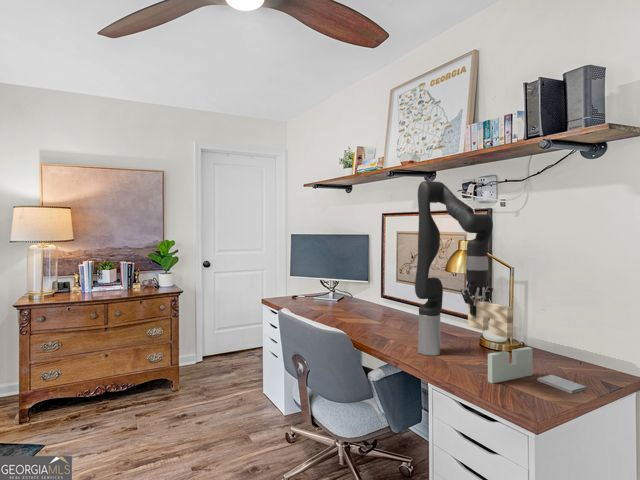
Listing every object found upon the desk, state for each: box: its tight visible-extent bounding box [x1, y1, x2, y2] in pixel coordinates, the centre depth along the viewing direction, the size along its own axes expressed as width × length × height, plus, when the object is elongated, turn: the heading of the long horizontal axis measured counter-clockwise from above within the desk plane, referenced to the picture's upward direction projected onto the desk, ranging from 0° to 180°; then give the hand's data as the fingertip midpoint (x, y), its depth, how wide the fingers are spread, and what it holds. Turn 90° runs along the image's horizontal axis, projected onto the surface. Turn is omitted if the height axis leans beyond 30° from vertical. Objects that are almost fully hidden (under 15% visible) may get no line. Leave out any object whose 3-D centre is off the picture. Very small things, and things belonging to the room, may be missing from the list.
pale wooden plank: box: [467, 299, 514, 339], centre depth 138 cm, size 18×2×10 cm, turn 22°
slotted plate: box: [487, 346, 534, 384], centre depth 143 cm, size 20×2×10 cm, turn 113°
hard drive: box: [537, 374, 588, 394], centre depth 137 cm, size 2×8×12 cm
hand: (476, 315), depth 144 cm, fingers closed on pale wooden plank, 2 cm apart
